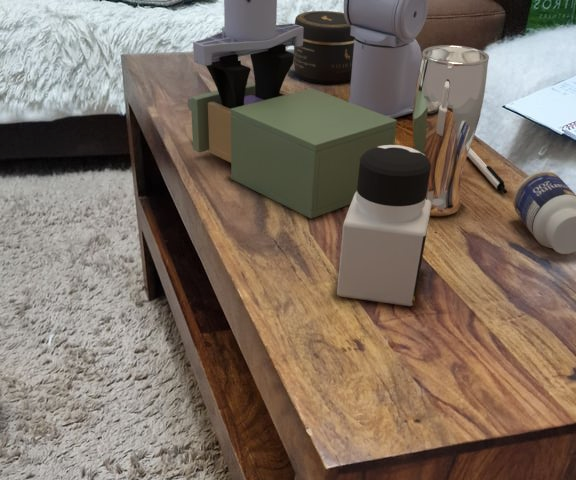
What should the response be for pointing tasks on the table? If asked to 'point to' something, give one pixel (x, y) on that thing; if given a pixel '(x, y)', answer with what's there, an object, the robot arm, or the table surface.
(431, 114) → the beer glass
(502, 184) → the pen
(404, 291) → the medicine bottle
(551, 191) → the pill bottle
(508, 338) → the table surface
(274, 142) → the cabinet
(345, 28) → the jar
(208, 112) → the drawer
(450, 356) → the table surface
